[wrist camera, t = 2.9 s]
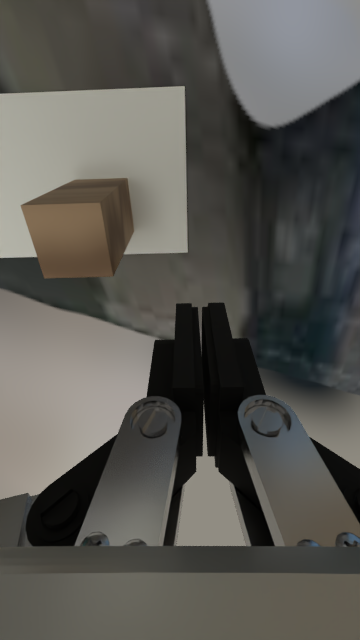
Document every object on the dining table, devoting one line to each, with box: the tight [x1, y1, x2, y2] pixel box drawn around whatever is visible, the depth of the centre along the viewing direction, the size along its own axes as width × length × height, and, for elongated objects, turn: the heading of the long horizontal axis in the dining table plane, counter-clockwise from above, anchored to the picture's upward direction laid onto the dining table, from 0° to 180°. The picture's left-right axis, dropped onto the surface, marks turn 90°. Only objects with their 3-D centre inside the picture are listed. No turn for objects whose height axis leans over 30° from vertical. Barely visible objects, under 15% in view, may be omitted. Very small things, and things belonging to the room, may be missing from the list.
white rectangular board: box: [0, 86, 188, 258], centre depth 27 cm, size 14×24×1 cm, turn 92°
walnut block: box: [21, 178, 134, 278], centre depth 24 cm, size 5×5×11 cm
